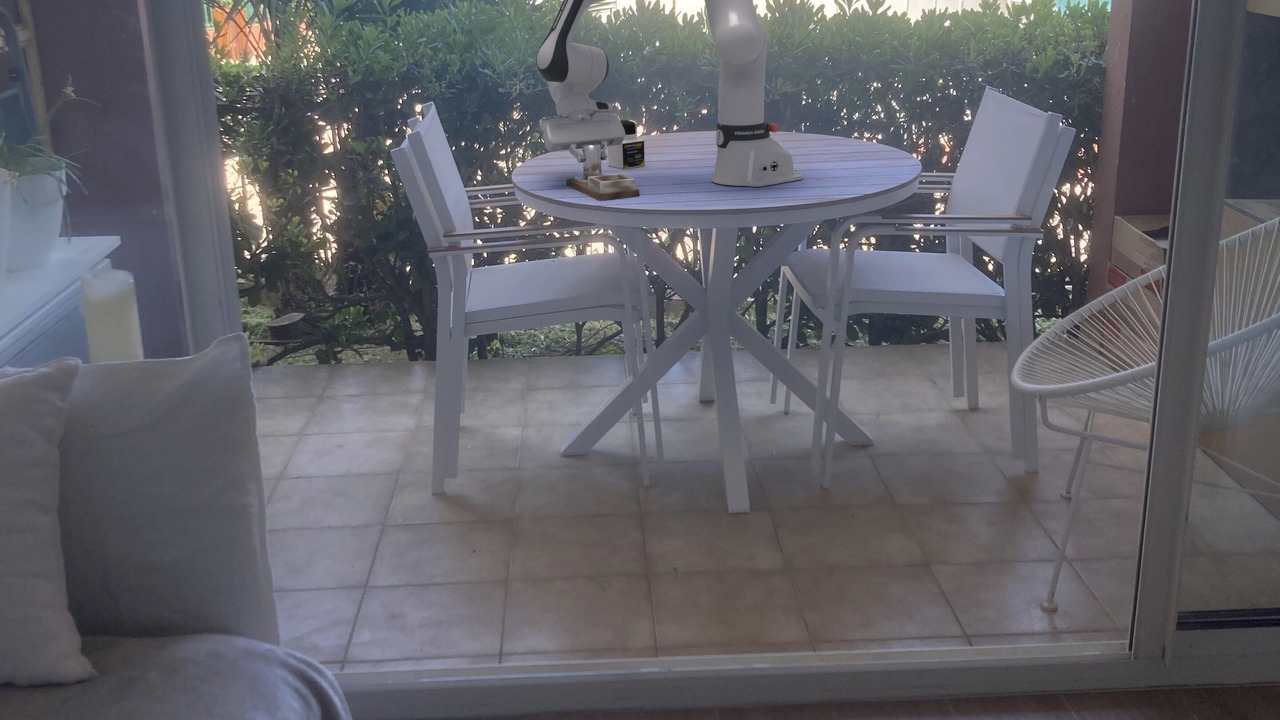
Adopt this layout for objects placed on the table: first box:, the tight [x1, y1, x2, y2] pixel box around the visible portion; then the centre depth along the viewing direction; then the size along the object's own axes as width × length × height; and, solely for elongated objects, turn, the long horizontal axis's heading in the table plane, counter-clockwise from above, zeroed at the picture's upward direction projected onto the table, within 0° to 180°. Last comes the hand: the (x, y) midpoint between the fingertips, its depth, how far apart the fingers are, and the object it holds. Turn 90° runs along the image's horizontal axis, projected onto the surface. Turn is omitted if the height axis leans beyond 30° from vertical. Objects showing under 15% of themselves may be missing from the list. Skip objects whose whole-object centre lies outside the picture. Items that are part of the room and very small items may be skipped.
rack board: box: [565, 173, 641, 201], centre depth 273 cm, size 10×22×4 cm, turn 24°
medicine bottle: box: [607, 119, 646, 170], centre depth 301 cm, size 7×7×12 cm
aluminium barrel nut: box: [581, 143, 603, 179], centre depth 276 cm, size 4×4×8 cm
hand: (593, 160), depth 276 cm, fingers closed on aluminium barrel nut, 4 cm apart
